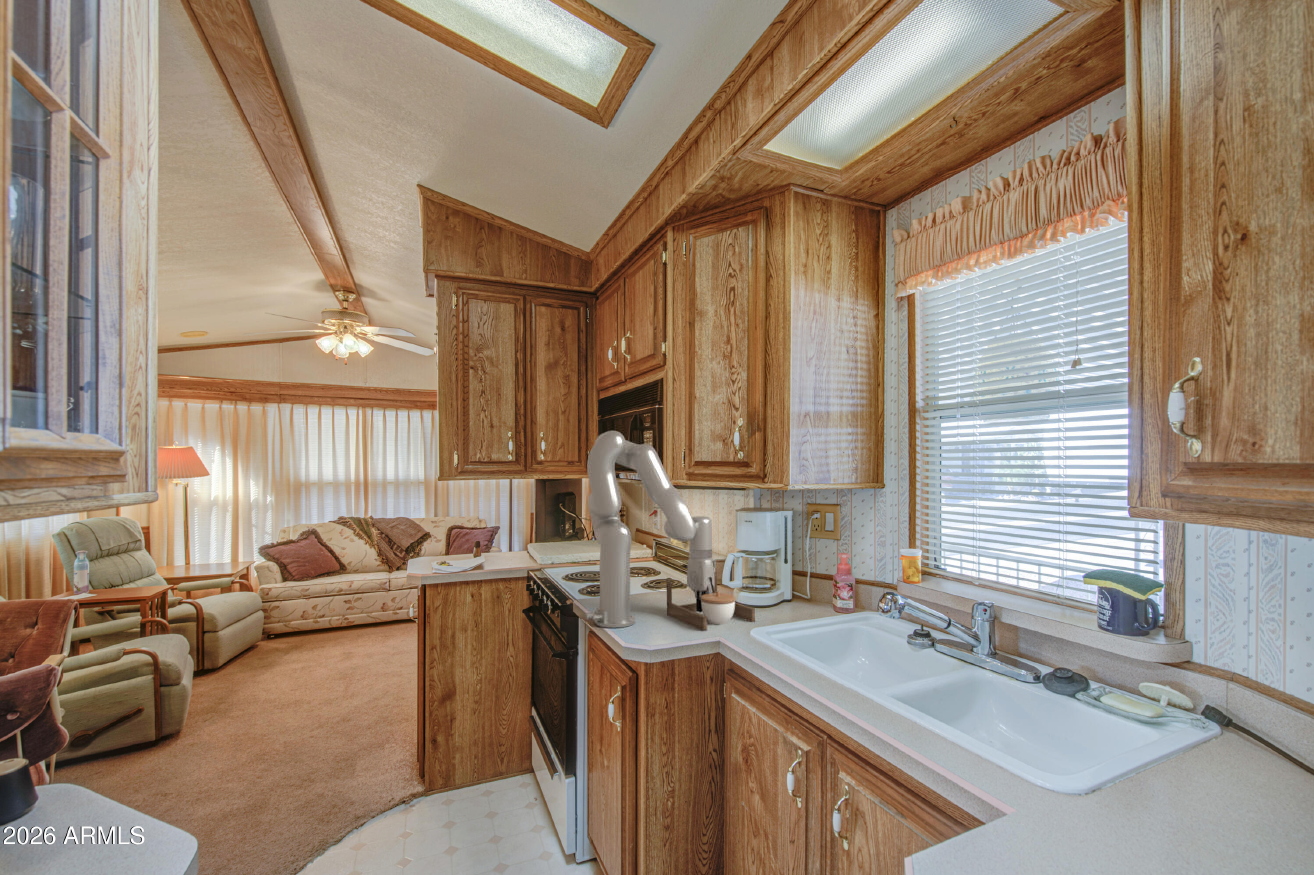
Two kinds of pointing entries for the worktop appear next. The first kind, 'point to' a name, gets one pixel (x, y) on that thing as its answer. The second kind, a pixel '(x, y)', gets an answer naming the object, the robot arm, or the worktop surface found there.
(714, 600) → the lidded jar
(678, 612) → the wooden dowel stand
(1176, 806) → the worktop surface
